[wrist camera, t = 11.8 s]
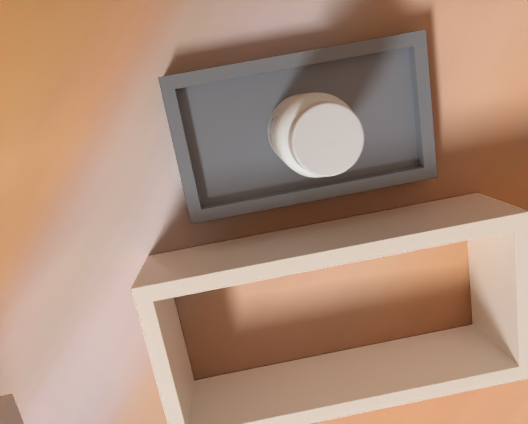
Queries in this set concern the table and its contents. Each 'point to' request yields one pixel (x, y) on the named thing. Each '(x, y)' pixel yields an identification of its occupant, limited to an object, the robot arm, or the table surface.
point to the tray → (271, 95)
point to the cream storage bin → (357, 359)
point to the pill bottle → (316, 134)
